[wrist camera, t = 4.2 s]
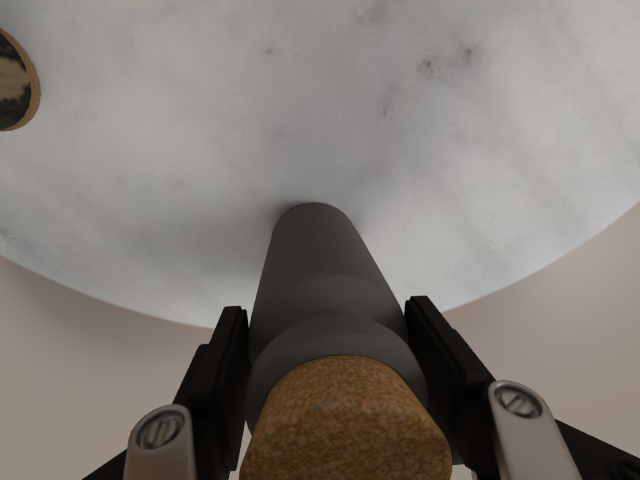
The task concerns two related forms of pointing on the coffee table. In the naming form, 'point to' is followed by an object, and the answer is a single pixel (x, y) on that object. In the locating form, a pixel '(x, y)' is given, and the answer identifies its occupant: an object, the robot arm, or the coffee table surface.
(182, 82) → the coffee table surface
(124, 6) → the coffee table surface
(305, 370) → the bottle
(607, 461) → the robot arm
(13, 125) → the mug
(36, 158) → the coffee table surface
